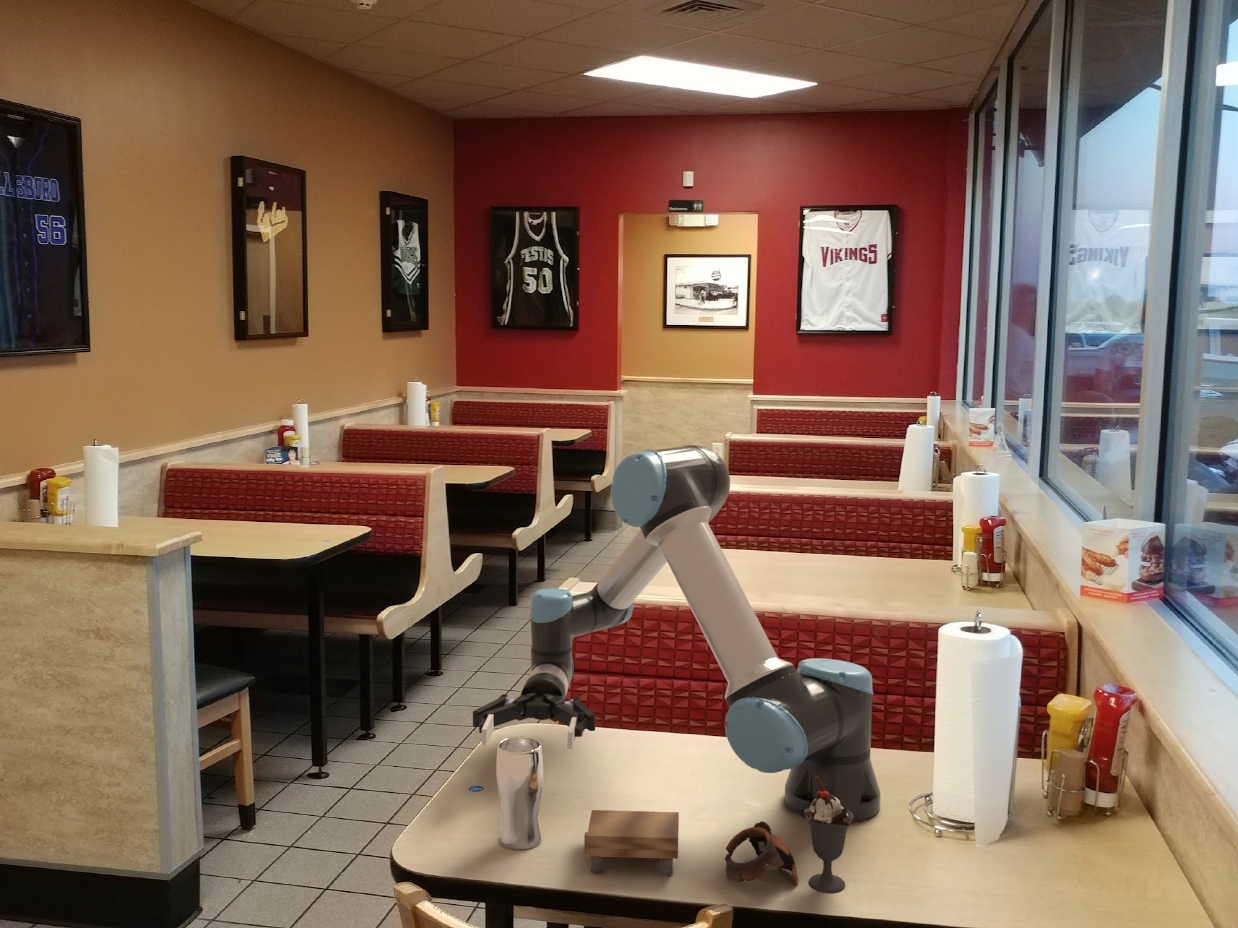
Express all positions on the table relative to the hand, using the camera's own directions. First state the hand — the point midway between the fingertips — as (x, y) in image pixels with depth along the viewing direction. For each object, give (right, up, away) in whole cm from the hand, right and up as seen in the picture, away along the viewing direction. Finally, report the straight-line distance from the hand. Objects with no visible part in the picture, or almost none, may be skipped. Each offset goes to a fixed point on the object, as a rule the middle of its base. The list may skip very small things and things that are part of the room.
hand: (526, 739), depth 174 cm
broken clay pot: (+34, -15, -19) cm, 42 cm away
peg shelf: (+17, -14, -13) cm, 25 cm away
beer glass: (0, -13, -8) cm, 16 cm away
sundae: (+43, -15, -21) cm, 50 cm away
